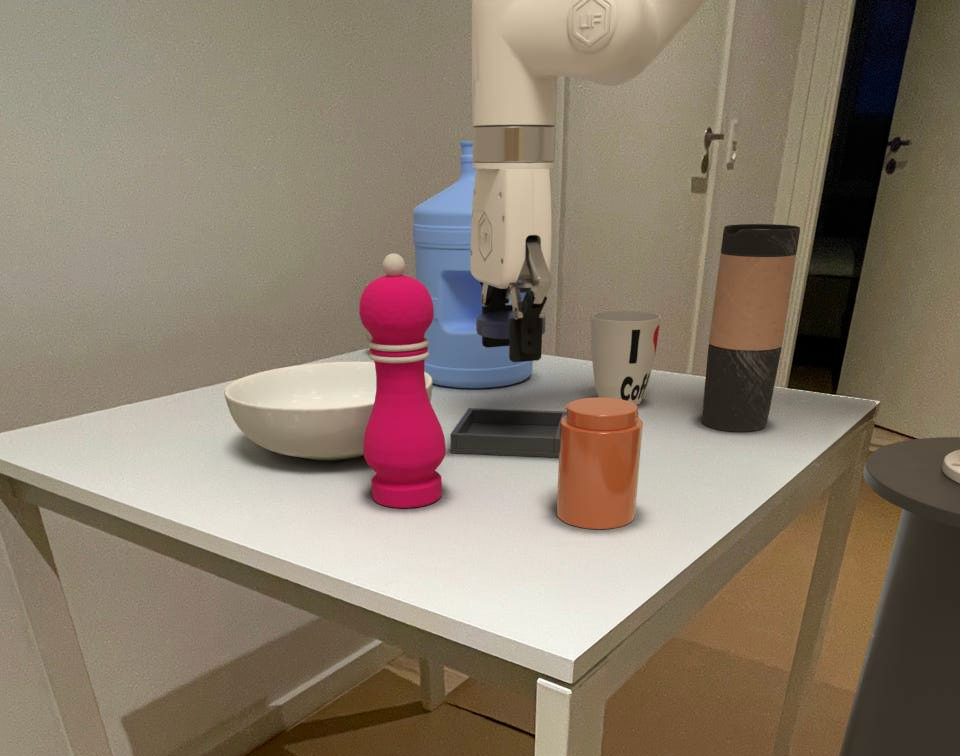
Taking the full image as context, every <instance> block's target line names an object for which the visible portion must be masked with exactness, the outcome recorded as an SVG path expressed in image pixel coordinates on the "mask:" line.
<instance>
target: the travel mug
mask: <svg viewBox="0 0 960 756" xmlns="http://www.w3.org/2000/svg"><path fill="white" fill-rule="evenodd" d="M800 234H801V227H800V226H797V225H791V224H777V223H775V224H773V223H743V224H742V223H741V224H740V223H739V224H729V225H725V226H724V227H723V232H722V239H721V247H720V254H719V263H718V268H717V277H716V283H715V284H716V286H715V293H714V299H713V306H712V307H713V308H712V313H711V322H710V330H709V338H708V346H707V347H708V348H707V359H706V366H705V380H704V388H703V389H704V390H703V400H702V401H703V402H702V413H701V422H702V424H703V425H704V426H706V427H708V428H712V429H713V430H714V429H715V430H719V431H722V432H723V431H724V432H732V433H733V432H736V433H745V432H746V433H748V432H756V431H760V430H763V429H764V428H766V427H767V424H768V419H769V415H770V411H771V406H772V400H773V395H774V389H775V385H776V380H777V375H778V370H779V365H780V360H781V354H782V349H783V347H782V346H783V343H784V337H785V331H786V325H787V319H788V318H787V317H788V311H789V305H790V299H791V292H792V287H793V279H794V273H795V265H796V261H797V260H796V259H797V252H798V246H799V241H800Z"/></svg>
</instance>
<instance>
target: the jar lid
mask: <svg viewBox="0 0 960 756" xmlns="http://www.w3.org/2000/svg"><path fill="white" fill-rule="evenodd" d="M510 318H514V314H513V310H511V311H494V312H488V313H483V314H480V315H478V316H477V321H476V331H477V333H478V335H480V336H483V337H487V338H494V339H510ZM545 333H546V315H545V314H544V317H543V320H542V335H544V334H545Z"/></svg>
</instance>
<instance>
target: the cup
mask: <svg viewBox="0 0 960 756" xmlns="http://www.w3.org/2000/svg"><path fill="white" fill-rule="evenodd" d="M661 317H662V315H660V314H658V313H655V312H650V311H643V310H642V311H641V310H607V311H599V312H595V313H592V314H591V315H590V330H591V331H590V332H591V333H590V348H591V349H590V352H591V360H592V361H591V363H592V370H593V371H592V372H593V378H594V379H593V381H594V386H595V388H596V394H597V398H599V397H600V398H616V399H622V400H626V401H629V402H632V403H634V404H636V405H637V406H638V405H640V404H641V402H642V399H643V397H644V395H645V392H646V389H647V387H648V385H649V381H650V378H651V373H652V370H653V366H654V361H655V358H656V357H655V356H656V353H657V345H658V341H659V340H658V339H659V332H660V326H661Z"/></svg>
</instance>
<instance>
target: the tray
mask: <svg viewBox="0 0 960 756" xmlns="http://www.w3.org/2000/svg"><path fill="white" fill-rule="evenodd" d="M566 415H567V410H566V411H565V410H564V411H562V410H560V411H559V410H536V409H534V410H533V409H504V408H500V409H499V408H476V407H475V408H473V407H469V408H467V409H466V411H465V412H464V414H463V416H462V417H461V419H460V420H459V421H458V423H457V424H456V426H454V429H453V430H452V431H451V432H450V453H451V454H464V455H485V456H486V455H489V456H514V457H532V458H533V457H535V458H536V457H537V458H556V459H557V458H558V459H559V442H560V420H561V418H563V417H564V416H566Z"/></svg>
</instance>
